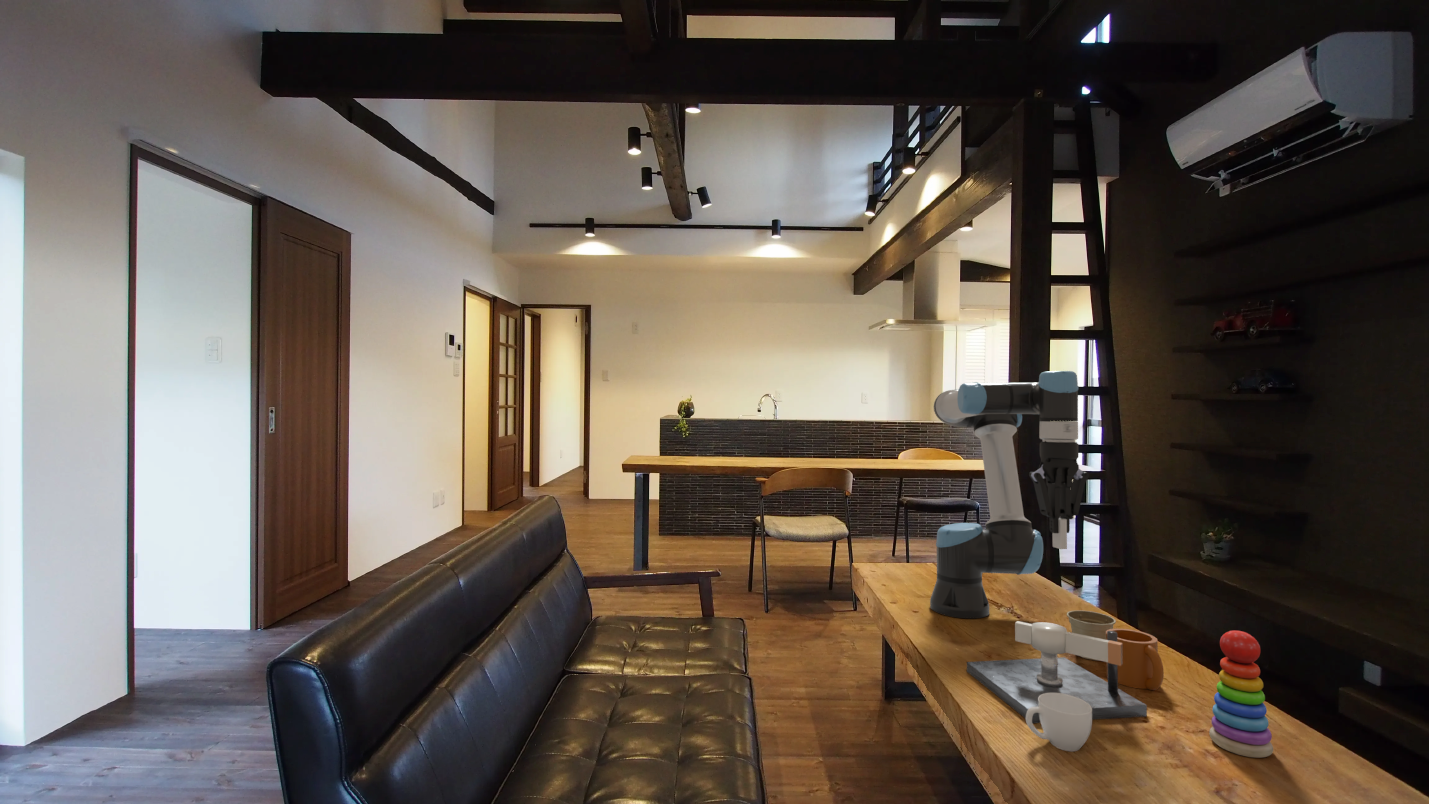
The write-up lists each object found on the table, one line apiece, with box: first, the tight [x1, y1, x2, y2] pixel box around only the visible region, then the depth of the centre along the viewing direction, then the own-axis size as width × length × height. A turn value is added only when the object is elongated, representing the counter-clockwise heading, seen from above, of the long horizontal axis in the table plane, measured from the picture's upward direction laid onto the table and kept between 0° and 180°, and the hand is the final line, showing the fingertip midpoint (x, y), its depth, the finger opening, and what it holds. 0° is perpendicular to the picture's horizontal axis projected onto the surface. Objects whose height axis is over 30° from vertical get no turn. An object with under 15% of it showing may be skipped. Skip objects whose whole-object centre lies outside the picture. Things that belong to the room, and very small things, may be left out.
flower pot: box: [1066, 609, 1117, 662], centre depth 140 cm, size 9×9×9 cm
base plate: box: [966, 631, 1148, 724], centre depth 122 cm, size 22×22×13 cm
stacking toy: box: [1208, 630, 1274, 759], centre depth 102 cm, size 8×8×19 cm
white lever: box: [1014, 620, 1123, 666], centre depth 120 cm, size 18×6×4 cm, turn 47°
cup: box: [1025, 693, 1093, 752], centre depth 102 cm, size 8×10×7 cm
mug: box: [1105, 628, 1165, 691], centre depth 126 cm, size 9×12×9 cm
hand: (1059, 547), depth 138 cm, fingers closed
